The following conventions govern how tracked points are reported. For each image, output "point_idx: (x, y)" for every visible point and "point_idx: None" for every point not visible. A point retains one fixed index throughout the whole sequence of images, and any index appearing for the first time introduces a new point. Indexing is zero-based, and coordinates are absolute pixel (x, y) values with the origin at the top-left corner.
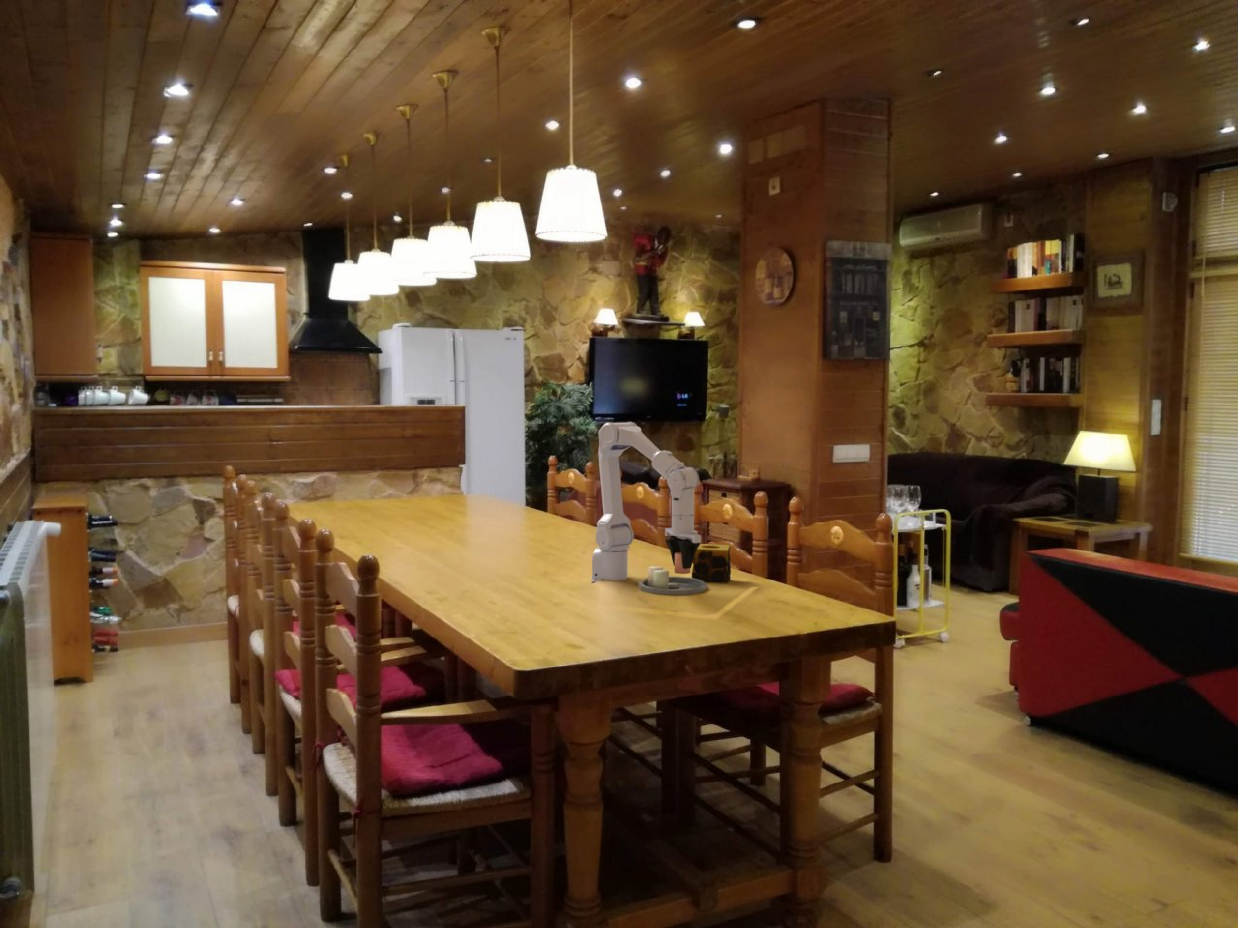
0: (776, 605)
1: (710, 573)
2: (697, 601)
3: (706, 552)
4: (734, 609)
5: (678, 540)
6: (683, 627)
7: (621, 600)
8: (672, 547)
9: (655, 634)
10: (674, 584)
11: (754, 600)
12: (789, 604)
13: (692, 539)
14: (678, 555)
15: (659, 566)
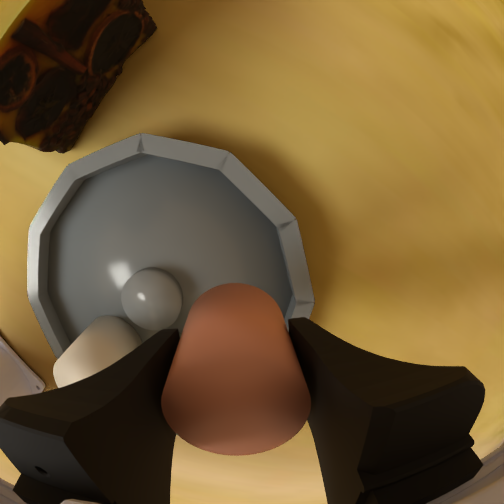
0: (475, 76)
1: (88, 69)
2: (363, 275)
3: (8, 53)
4: (482, 216)
5: (135, 502)
6: (496, 386)
7: (242, 459)
8: (168, 484)
9: (485, 426)
10: (164, 299)
11: (416, 76)
12: (468, 41)
13: (482, 487)
14: (270, 441)
15: (59, 359)
